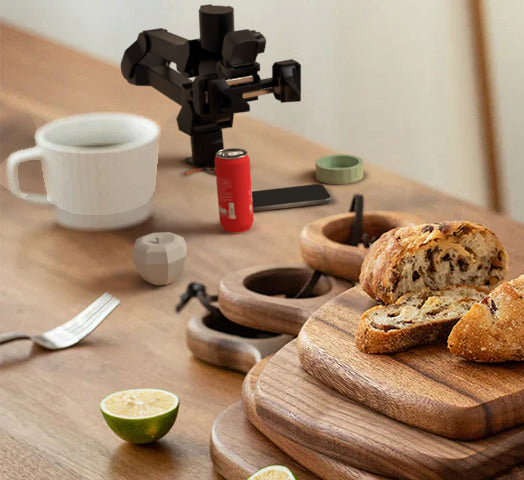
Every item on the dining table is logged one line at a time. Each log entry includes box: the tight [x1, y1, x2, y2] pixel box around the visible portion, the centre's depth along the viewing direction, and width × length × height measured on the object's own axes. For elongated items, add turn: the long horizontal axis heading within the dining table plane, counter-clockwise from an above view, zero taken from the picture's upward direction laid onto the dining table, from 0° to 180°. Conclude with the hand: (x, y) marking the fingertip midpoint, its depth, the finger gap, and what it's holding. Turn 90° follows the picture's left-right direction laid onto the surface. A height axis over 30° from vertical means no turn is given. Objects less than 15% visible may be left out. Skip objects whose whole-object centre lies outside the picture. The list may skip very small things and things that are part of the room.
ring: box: [314, 153, 364, 185], centre depth 186 cm, size 8×8×3 cm
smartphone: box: [252, 183, 333, 213], centre depth 176 cm, size 8×1×15 cm
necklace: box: [184, 167, 216, 176], centre depth 191 cm, size 8×11×2 cm
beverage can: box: [214, 147, 255, 234], centre depth 164 cm, size 5×5×12 cm
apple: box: [131, 231, 188, 286], centre depth 148 cm, size 8×8×7 cm
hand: (274, 103), depth 168 cm, fingers open, 9 cm apart
